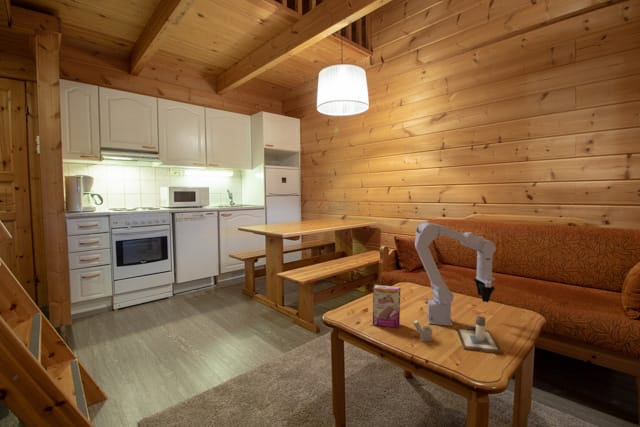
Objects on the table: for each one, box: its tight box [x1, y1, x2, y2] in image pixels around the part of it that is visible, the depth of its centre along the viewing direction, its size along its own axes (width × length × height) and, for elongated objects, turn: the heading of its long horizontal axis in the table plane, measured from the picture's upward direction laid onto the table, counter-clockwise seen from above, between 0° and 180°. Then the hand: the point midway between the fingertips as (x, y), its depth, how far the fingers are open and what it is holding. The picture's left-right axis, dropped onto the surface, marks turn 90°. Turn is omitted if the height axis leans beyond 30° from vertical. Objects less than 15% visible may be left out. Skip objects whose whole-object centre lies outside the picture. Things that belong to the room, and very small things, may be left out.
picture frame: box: [455, 325, 502, 354], centre depth 113 cm, size 12×16×2 cm
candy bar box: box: [372, 284, 401, 329], centre depth 127 cm, size 11×5×16 cm, turn 74°
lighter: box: [412, 319, 433, 342], centre depth 114 cm, size 7×2×8 cm, turn 100°
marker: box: [475, 316, 486, 342], centre depth 111 cm, size 3×3×8 cm
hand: (483, 298), depth 128 cm, fingers open, 7 cm apart
